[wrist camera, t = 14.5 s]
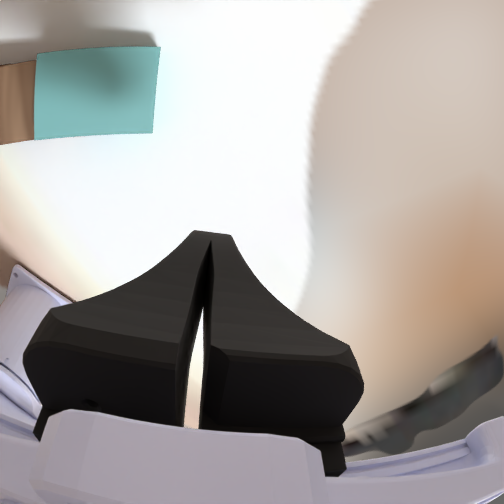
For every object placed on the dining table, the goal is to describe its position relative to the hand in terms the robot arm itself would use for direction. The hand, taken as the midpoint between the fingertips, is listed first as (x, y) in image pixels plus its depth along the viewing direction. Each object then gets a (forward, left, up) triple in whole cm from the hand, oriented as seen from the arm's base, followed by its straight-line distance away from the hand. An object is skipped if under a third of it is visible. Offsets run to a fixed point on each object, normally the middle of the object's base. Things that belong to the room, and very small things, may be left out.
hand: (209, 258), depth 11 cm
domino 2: (+2, +6, -9) cm, 11 cm away
